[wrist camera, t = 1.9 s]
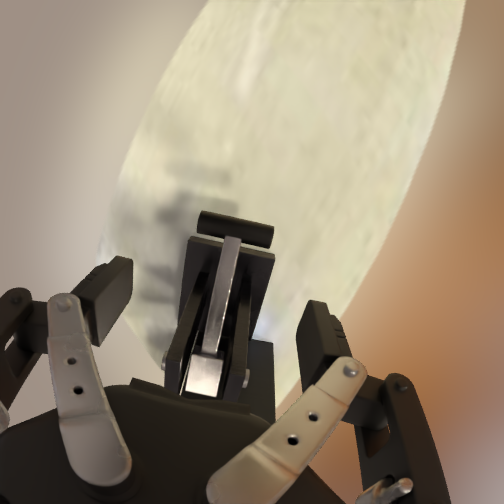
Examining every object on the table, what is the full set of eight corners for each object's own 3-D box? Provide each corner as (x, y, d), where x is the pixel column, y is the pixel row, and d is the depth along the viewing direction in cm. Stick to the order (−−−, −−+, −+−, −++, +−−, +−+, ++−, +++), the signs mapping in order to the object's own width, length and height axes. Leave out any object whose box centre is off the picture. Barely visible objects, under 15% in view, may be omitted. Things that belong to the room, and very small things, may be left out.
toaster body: (199, 327, 31) (173, 419, 20) (273, 342, 32) (276, 437, 20) (192, 367, 34) (172, 451, 22) (259, 380, 34) (257, 465, 23)
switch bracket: (190, 235, 27) (141, 318, 15) (274, 254, 27) (282, 349, 15) (179, 319, 31) (145, 412, 19) (250, 334, 31) (245, 434, 19)
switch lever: (203, 213, 21) (200, 206, 18) (271, 228, 21) (276, 223, 19) (170, 374, 20) (164, 385, 17) (236, 388, 20) (236, 401, 18)
